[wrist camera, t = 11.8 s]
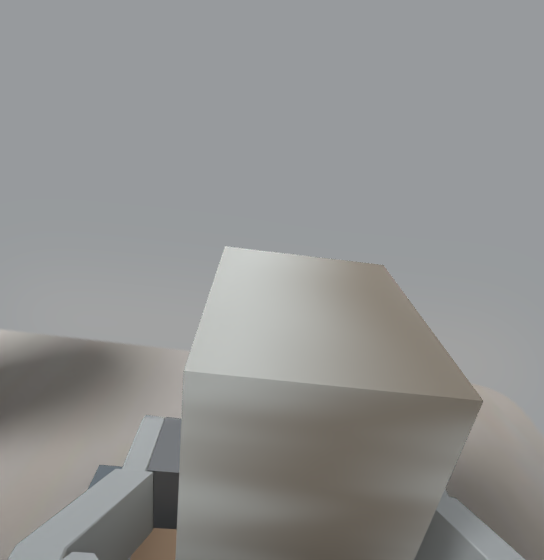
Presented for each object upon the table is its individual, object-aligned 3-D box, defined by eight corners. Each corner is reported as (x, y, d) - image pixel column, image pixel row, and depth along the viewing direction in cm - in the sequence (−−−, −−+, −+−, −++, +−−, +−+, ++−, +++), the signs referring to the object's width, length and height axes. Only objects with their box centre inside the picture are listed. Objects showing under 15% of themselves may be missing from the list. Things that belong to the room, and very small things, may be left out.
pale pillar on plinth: (73, 776, 9) (-2, 380, 4) (148, 521, 14) (149, 230, 10) (414, 790, 9) (656, 443, 5) (360, 537, 15) (451, 266, 10)
